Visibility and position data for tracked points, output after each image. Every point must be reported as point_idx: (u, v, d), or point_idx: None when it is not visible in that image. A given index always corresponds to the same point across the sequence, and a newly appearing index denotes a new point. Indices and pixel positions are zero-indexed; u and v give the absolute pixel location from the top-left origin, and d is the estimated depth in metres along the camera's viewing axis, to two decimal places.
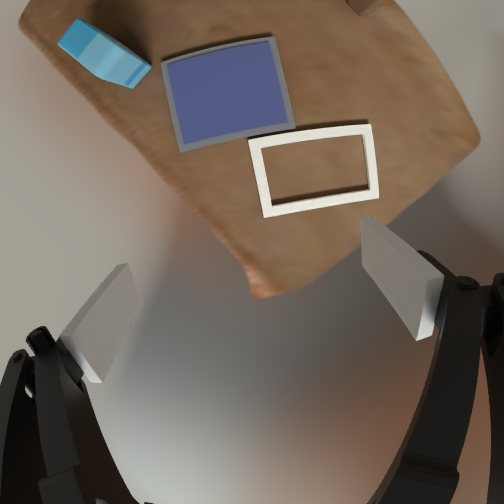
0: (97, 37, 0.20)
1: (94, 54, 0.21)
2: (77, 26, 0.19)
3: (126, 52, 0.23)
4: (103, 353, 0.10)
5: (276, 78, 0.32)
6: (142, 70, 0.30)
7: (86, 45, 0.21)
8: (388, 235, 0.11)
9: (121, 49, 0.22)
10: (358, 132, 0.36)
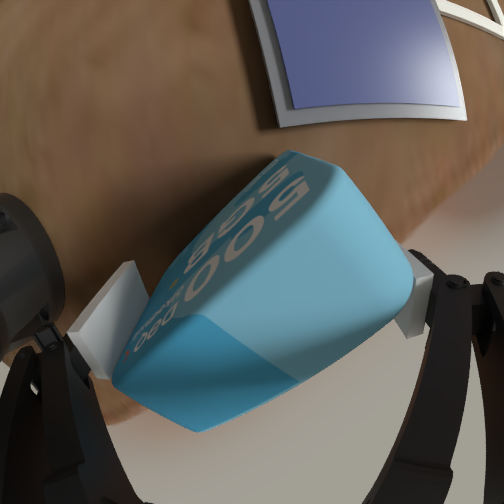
0: (231, 313, 0.07)
1: (321, 320, 0.07)
2: (146, 389, 0.08)
3: (337, 167, 0.07)
4: (110, 349, 0.10)
5: None
6: None
7: (252, 359, 0.08)
8: None
9: (338, 182, 0.06)
10: None
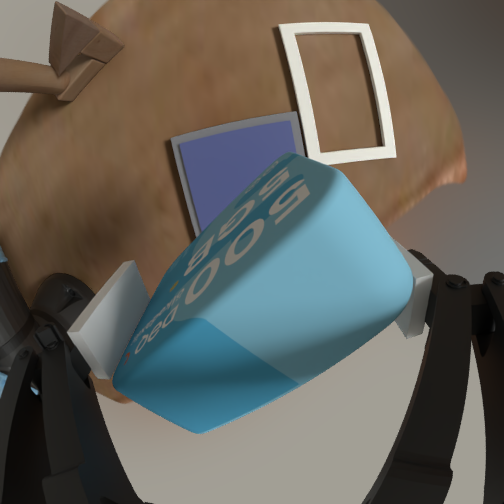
0: (231, 317, 0.07)
1: (320, 323, 0.07)
2: (147, 391, 0.08)
3: (337, 171, 0.07)
4: (110, 349, 0.10)
5: (231, 132, 0.29)
6: None
7: (253, 361, 0.08)
8: None
9: (339, 186, 0.06)
10: (293, 38, 0.25)
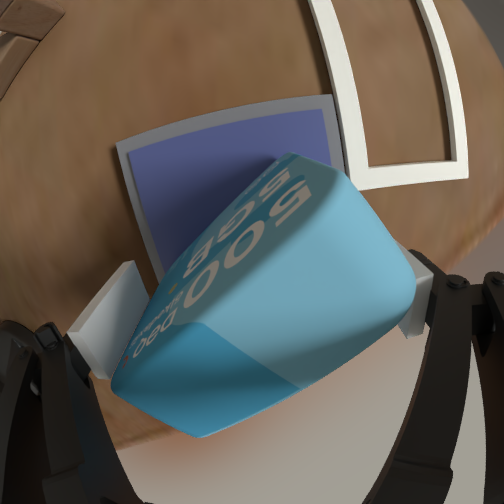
0: (231, 321, 0.07)
1: (322, 328, 0.07)
2: (145, 395, 0.08)
3: (340, 171, 0.07)
4: (110, 349, 0.10)
5: (216, 129, 0.16)
6: None
7: (253, 366, 0.07)
8: None
9: (341, 187, 0.06)
10: None
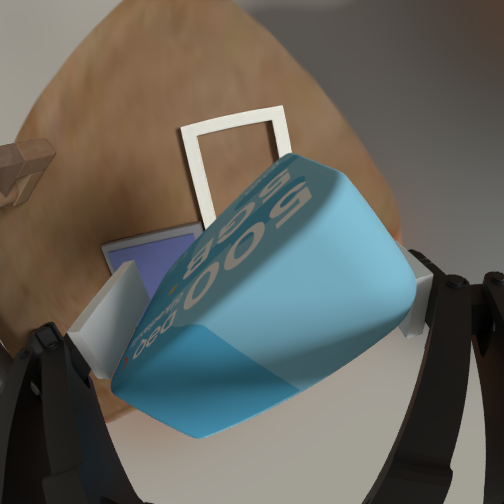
0: (231, 324, 0.07)
1: (322, 330, 0.07)
2: (145, 396, 0.08)
3: (340, 173, 0.07)
4: (110, 349, 0.10)
5: (145, 246, 0.34)
6: None
7: (253, 368, 0.07)
8: None
9: (342, 189, 0.06)
10: (194, 143, 0.29)
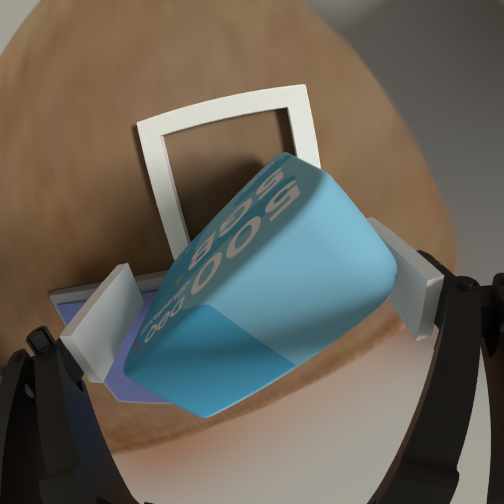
0: (233, 303, 0.08)
1: (312, 308, 0.08)
2: (157, 376, 0.10)
3: (325, 173, 0.08)
4: (103, 353, 0.10)
5: None
6: None
7: (253, 343, 0.09)
8: (388, 235, 0.11)
9: (325, 187, 0.07)
10: (158, 147, 0.17)
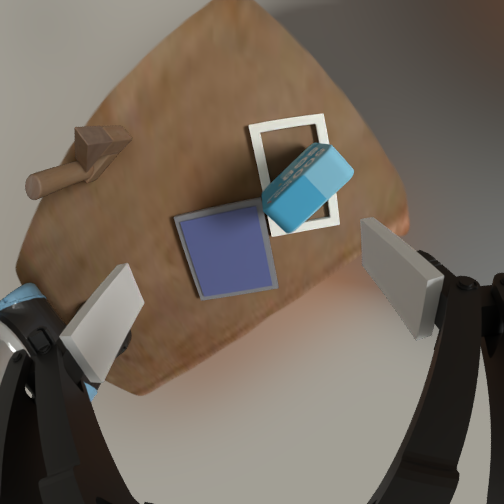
0: (310, 174, 0.30)
1: (330, 177, 0.31)
2: (282, 205, 0.32)
3: (331, 145, 0.30)
4: (103, 353, 0.10)
5: (215, 216, 0.44)
6: None
7: (314, 189, 0.31)
8: (388, 235, 0.11)
9: (331, 147, 0.30)
10: (259, 137, 0.40)
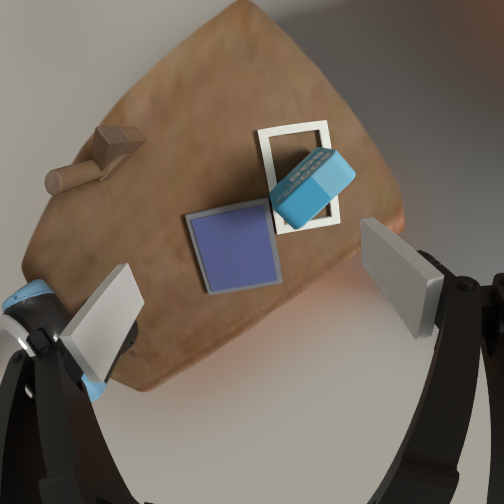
0: (317, 176, 0.34)
1: (334, 179, 0.34)
2: (291, 203, 0.35)
3: (335, 150, 0.34)
4: (103, 353, 0.10)
5: (225, 214, 0.47)
6: None
7: (320, 189, 0.34)
8: (388, 235, 0.11)
9: (335, 152, 0.33)
10: (267, 141, 0.43)
